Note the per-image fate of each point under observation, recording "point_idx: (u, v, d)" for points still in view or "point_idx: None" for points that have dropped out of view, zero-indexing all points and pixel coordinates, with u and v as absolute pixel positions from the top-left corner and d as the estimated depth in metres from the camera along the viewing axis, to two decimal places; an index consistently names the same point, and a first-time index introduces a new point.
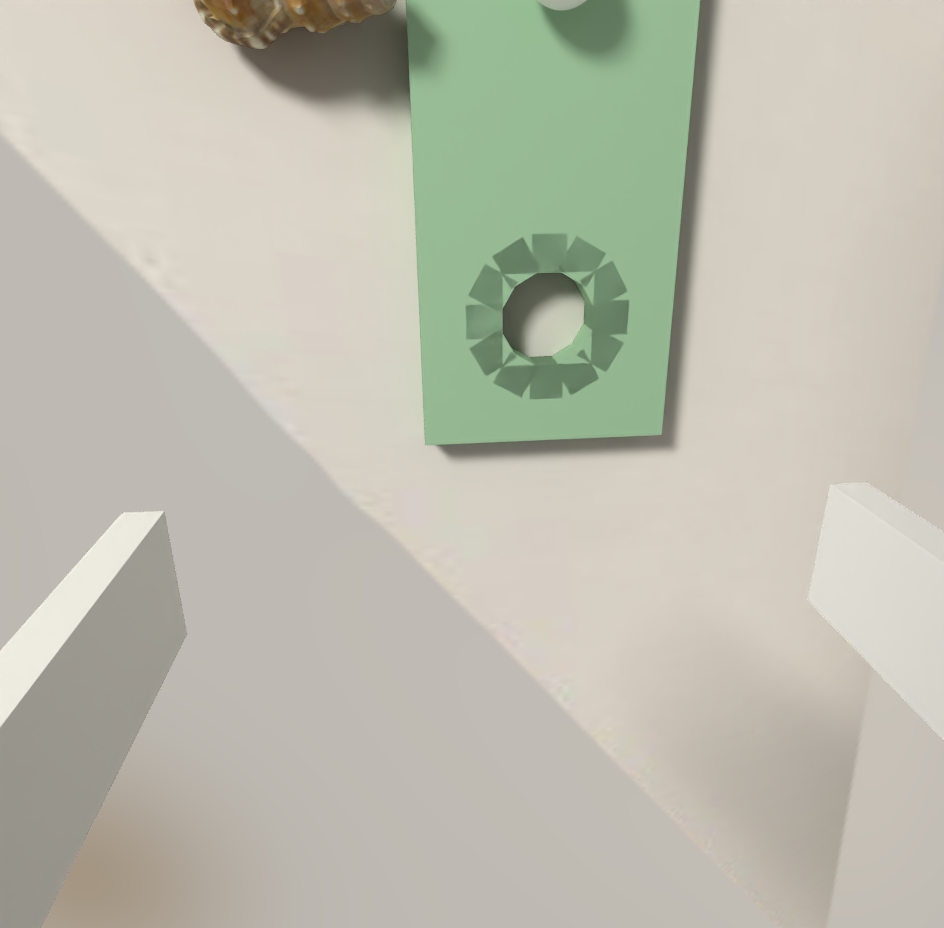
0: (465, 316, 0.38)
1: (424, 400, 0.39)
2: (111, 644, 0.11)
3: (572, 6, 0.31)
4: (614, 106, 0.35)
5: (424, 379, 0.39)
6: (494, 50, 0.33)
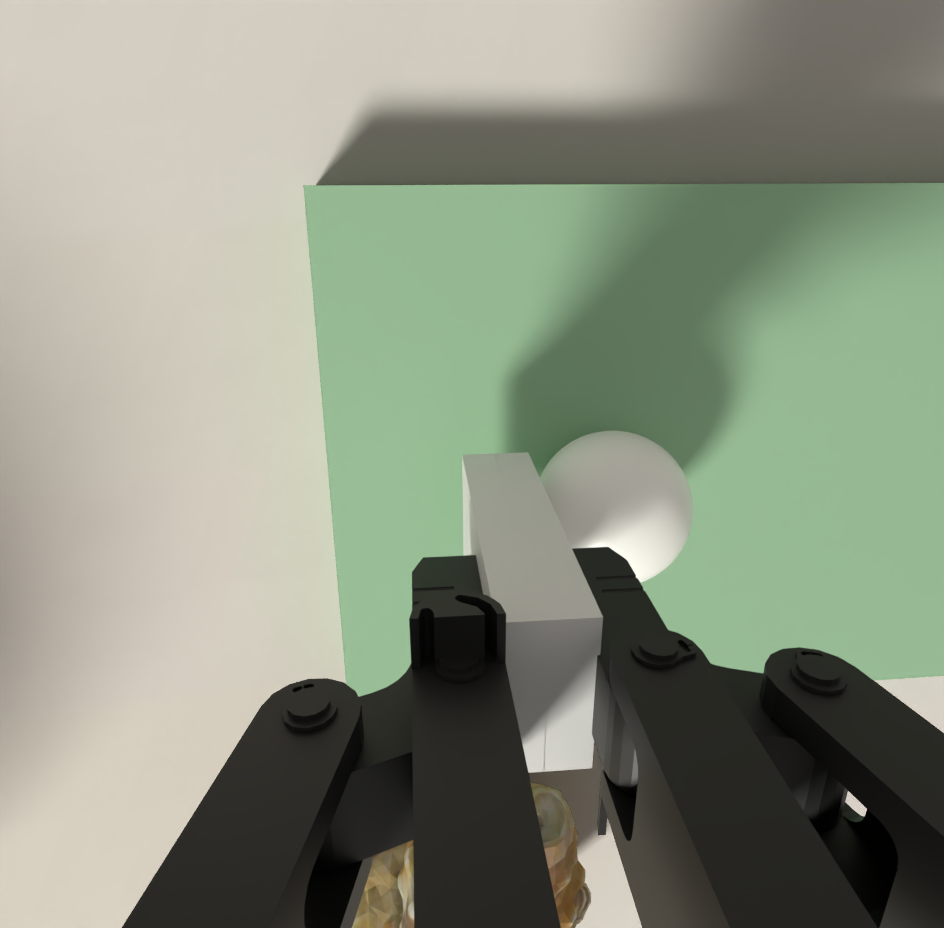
0: None
1: None
2: None
3: None
4: (757, 355, 0.17)
5: None
6: None
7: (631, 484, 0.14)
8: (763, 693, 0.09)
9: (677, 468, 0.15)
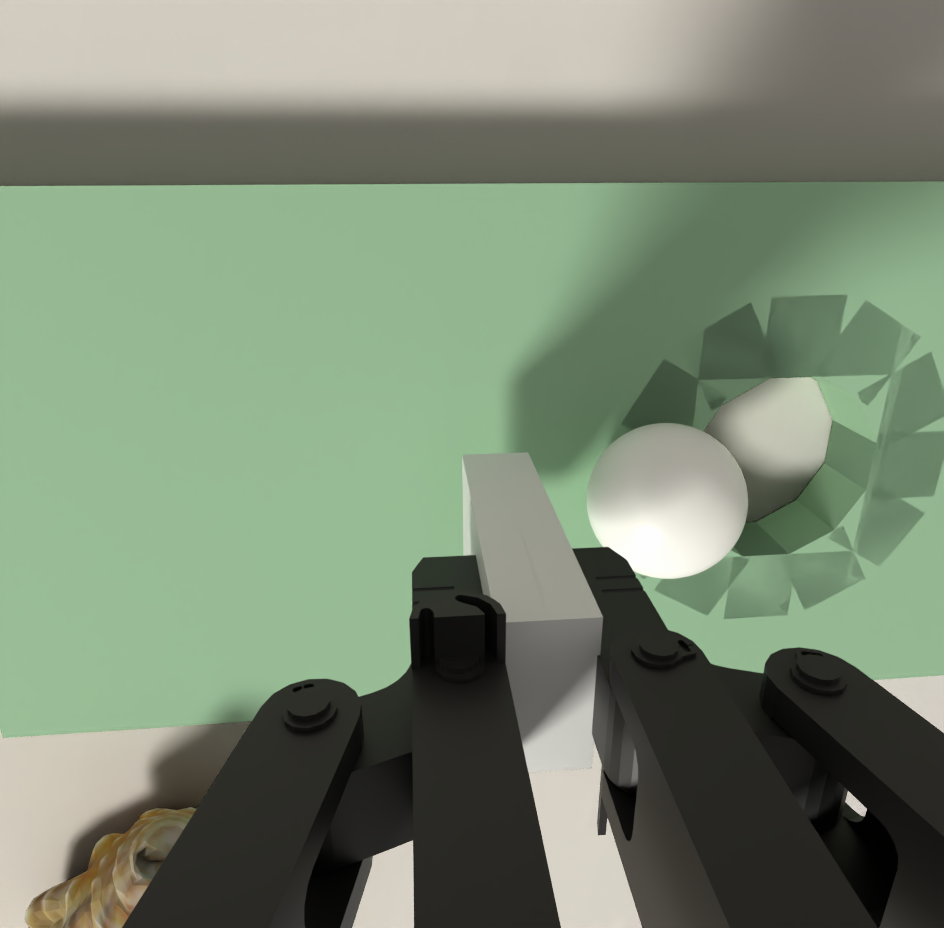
0: (744, 618, 0.20)
1: (881, 678, 0.21)
2: None
3: None
4: (370, 364, 0.16)
5: None
6: (289, 592, 0.18)
7: (665, 475, 0.15)
8: (763, 693, 0.09)
9: (728, 468, 0.15)
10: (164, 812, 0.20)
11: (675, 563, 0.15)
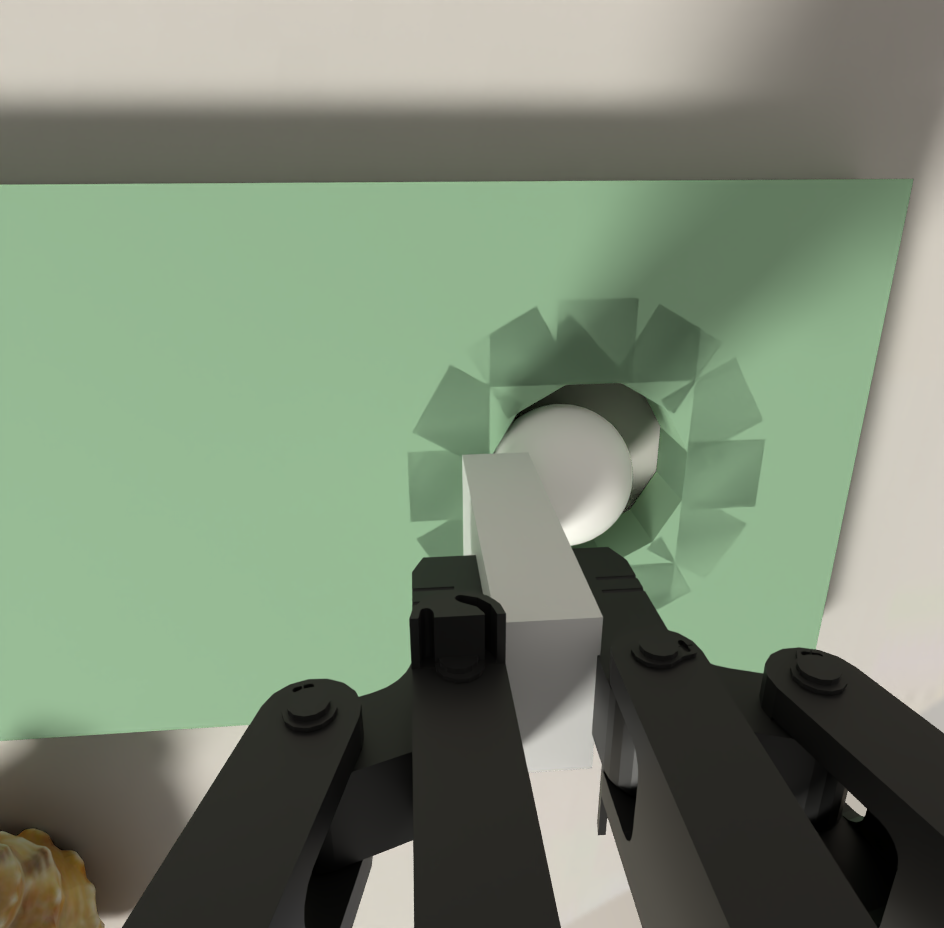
0: None
1: None
2: None
3: None
4: (137, 371, 0.16)
5: None
6: (80, 605, 0.18)
7: None
8: (763, 693, 0.09)
9: None
10: None
11: None
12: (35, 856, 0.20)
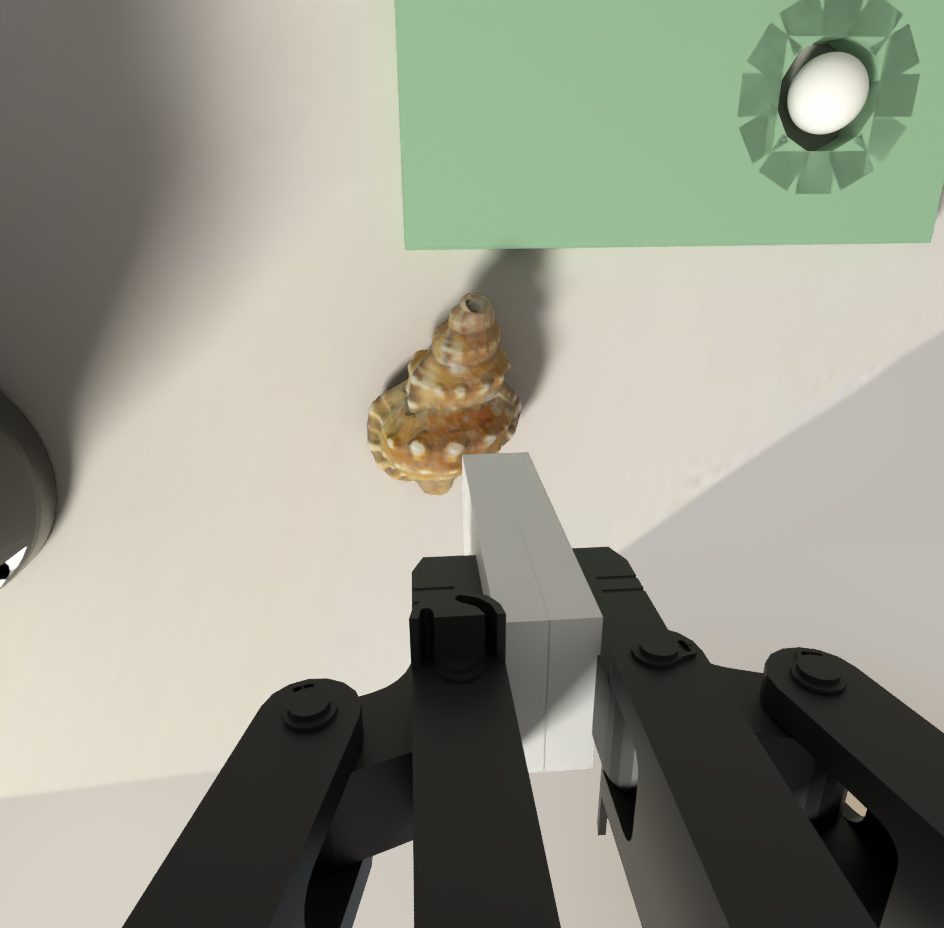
0: (806, 194, 0.36)
1: (883, 242, 0.37)
2: None
3: (790, 86, 0.35)
4: (624, 19, 0.32)
5: (861, 241, 0.37)
6: (566, 160, 0.34)
7: None
8: (763, 693, 0.09)
9: None
10: None
11: None
12: None
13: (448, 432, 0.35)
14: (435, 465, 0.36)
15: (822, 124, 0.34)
